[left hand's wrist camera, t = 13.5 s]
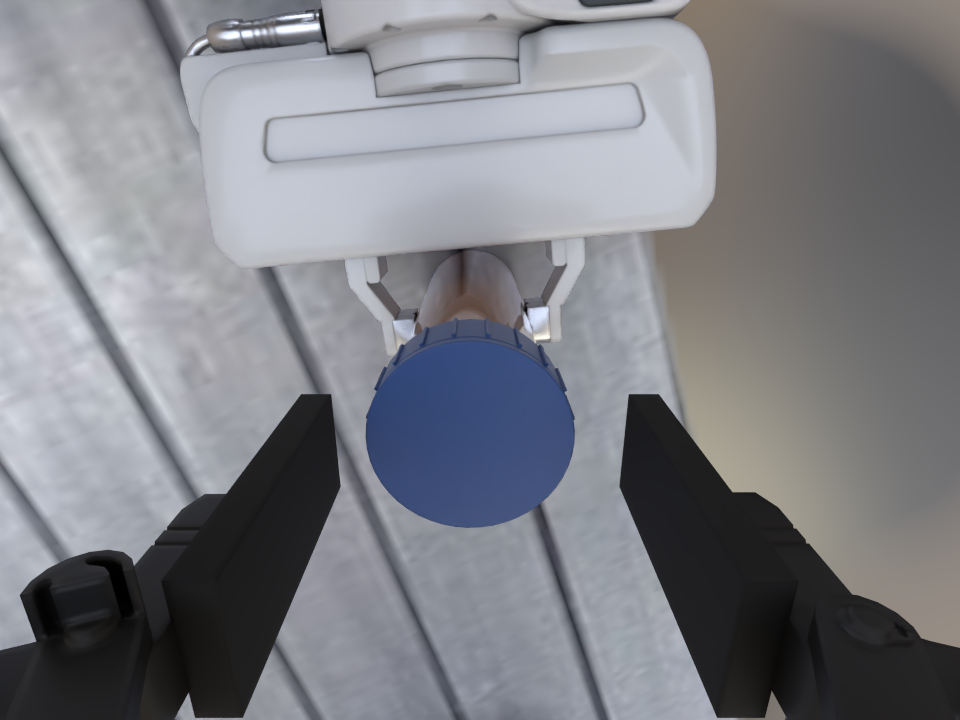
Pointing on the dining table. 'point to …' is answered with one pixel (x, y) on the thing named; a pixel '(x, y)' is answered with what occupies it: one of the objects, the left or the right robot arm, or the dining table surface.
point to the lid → (470, 424)
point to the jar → (473, 293)
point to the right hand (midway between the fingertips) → (475, 345)
